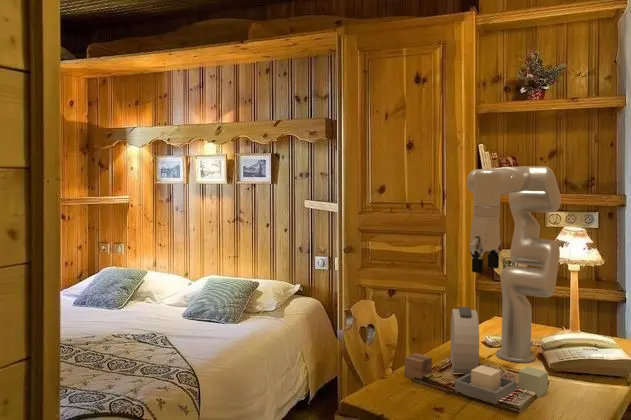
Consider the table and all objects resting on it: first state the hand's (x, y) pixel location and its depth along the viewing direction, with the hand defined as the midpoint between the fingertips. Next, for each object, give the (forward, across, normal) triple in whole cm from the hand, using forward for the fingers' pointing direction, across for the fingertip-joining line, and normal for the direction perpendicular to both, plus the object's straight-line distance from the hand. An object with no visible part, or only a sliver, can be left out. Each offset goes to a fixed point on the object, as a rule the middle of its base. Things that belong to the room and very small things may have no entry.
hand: (485, 270), depth 156 cm
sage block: (+35, -5, +13) cm, 37 cm away
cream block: (+34, +6, +4) cm, 34 cm away
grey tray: (+34, +6, +4) cm, 35 cm away
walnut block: (+35, +9, -17) cm, 40 cm away
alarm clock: (+35, -8, -11) cm, 38 cm away
